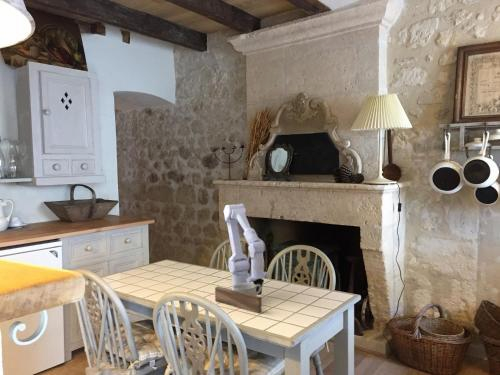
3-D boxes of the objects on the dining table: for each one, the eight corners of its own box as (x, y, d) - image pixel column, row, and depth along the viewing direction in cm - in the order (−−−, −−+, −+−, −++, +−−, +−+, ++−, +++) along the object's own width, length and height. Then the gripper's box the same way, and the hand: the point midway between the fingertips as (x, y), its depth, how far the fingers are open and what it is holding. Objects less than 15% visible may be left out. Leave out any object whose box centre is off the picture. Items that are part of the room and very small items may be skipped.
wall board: (218, 300, 187) (218, 286, 187) (261, 312, 171) (261, 297, 171) (215, 301, 186) (215, 287, 186) (258, 313, 169) (258, 298, 169)
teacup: (236, 307, 177) (235, 289, 177) (231, 299, 188) (231, 282, 187) (265, 304, 181) (265, 287, 180) (259, 297, 191) (259, 280, 191)
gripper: (254, 270, 180) (255, 300, 181) (272, 264, 192) (273, 291, 193) (242, 268, 185) (243, 297, 185) (261, 262, 196) (261, 289, 197)
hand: (257, 294), depth 189 cm, fingers closed, pressing on teacup
